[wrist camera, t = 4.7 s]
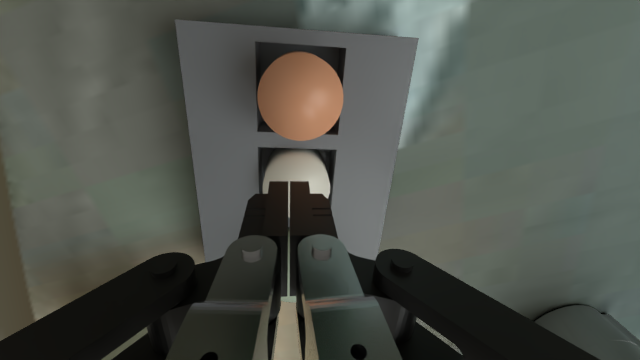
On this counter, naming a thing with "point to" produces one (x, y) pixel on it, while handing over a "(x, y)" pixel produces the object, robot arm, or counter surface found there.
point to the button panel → (260, 140)
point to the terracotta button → (300, 96)
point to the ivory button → (297, 170)
